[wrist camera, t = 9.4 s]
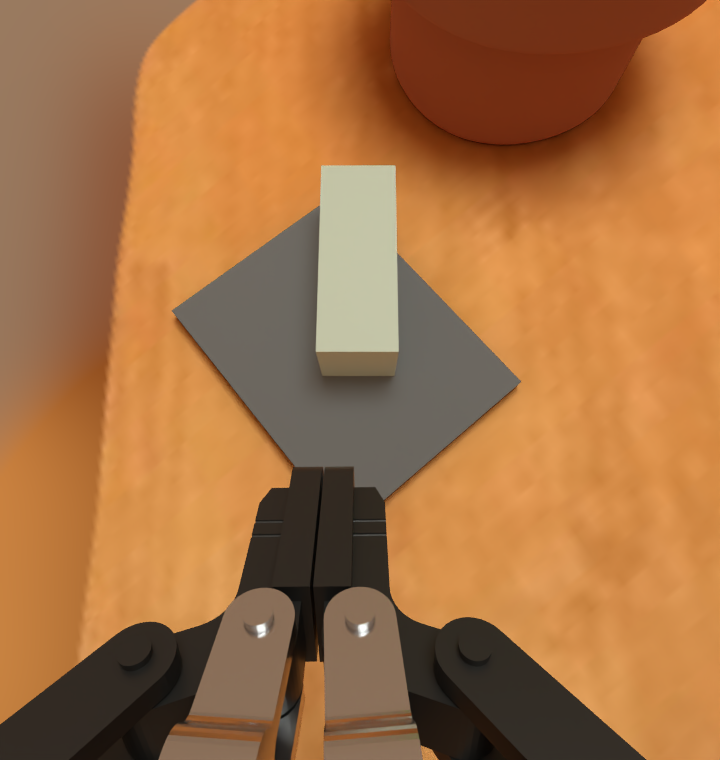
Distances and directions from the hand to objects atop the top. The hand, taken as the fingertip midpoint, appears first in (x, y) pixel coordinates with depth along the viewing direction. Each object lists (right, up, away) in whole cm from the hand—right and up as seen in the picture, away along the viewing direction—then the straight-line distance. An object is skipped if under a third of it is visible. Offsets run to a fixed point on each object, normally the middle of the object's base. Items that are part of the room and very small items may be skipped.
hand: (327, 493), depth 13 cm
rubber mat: (0, +5, +21) cm, 22 cm away
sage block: (+1, +4, +17) cm, 18 cm away
